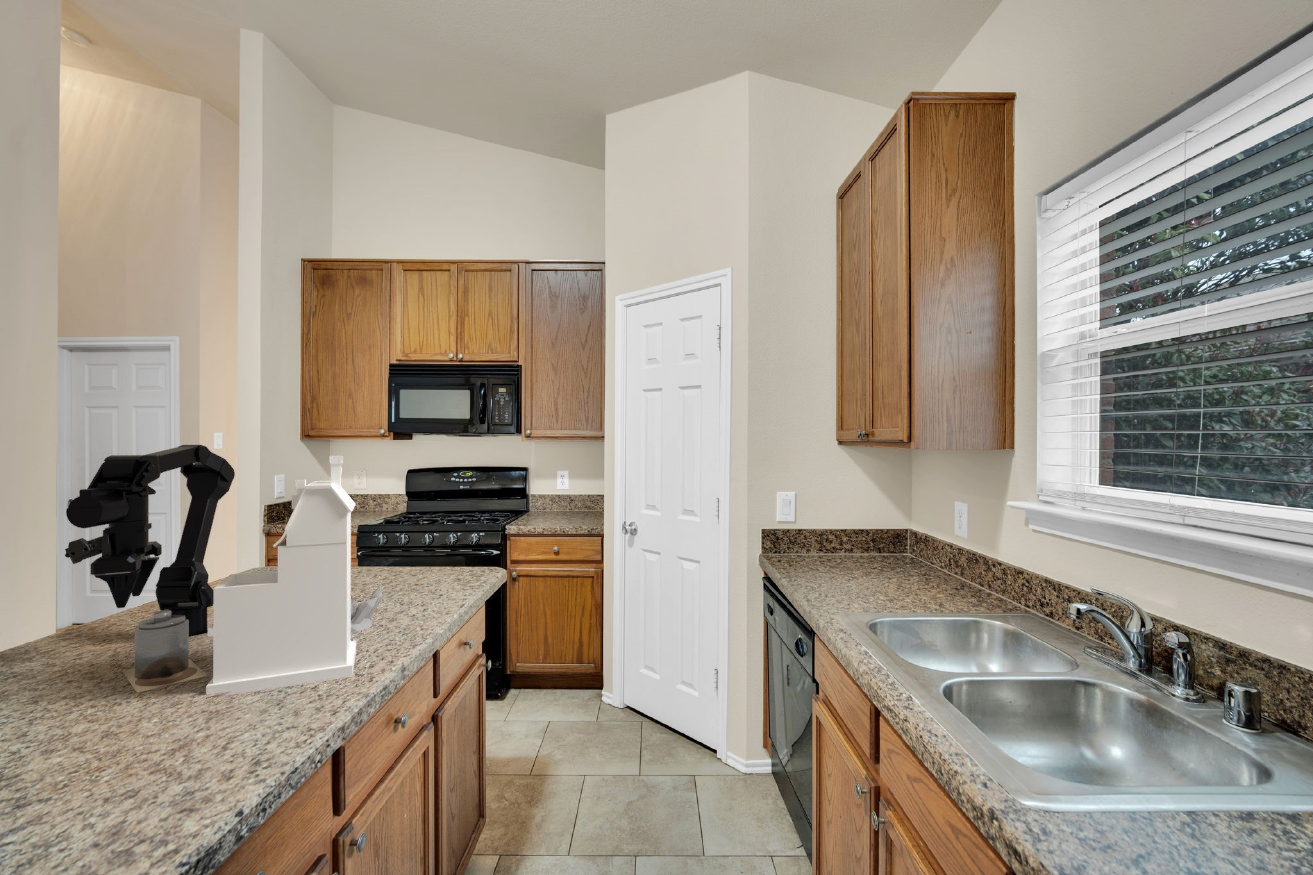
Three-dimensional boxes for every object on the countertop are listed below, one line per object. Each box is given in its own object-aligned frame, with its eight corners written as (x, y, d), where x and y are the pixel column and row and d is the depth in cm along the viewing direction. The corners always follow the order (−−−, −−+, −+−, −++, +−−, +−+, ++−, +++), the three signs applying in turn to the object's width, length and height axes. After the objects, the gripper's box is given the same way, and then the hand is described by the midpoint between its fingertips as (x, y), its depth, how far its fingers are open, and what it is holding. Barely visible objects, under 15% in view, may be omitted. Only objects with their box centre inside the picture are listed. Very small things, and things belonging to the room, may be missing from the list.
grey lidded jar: (183, 660, 113) (183, 603, 113) (193, 669, 108) (193, 610, 108) (130, 671, 107) (131, 612, 108) (138, 682, 103) (139, 620, 103)
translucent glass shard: (387, 626, 136) (387, 561, 136) (322, 637, 128) (322, 569, 128) (377, 616, 144) (377, 554, 144) (315, 626, 136) (315, 561, 136)
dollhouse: (356, 649, 121) (356, 454, 121) (352, 676, 107) (352, 456, 107) (228, 666, 112) (229, 455, 112) (206, 698, 98) (206, 457, 98)
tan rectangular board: (187, 659, 115) (187, 656, 115) (206, 678, 106) (206, 674, 106) (122, 674, 108) (122, 670, 108) (137, 696, 99) (137, 692, 99)
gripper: (90, 517, 117) (90, 595, 117) (50, 530, 101) (50, 621, 101) (162, 513, 123) (162, 588, 123) (135, 525, 106) (135, 612, 106)
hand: (128, 601), depth 113 cm, fingers open, 9 cm apart
